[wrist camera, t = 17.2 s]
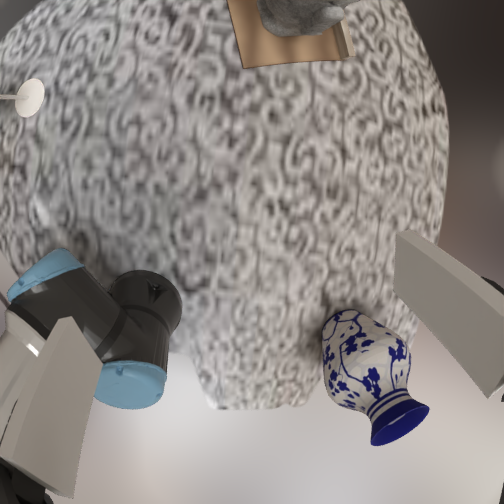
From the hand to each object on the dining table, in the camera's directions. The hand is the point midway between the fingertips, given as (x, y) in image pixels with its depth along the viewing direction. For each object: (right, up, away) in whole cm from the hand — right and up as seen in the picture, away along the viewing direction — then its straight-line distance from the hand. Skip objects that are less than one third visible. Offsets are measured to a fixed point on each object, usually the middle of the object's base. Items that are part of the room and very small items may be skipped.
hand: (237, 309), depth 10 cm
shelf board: (+6, +42, +24) cm, 49 cm away
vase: (+22, -16, +54) cm, 61 cm away
